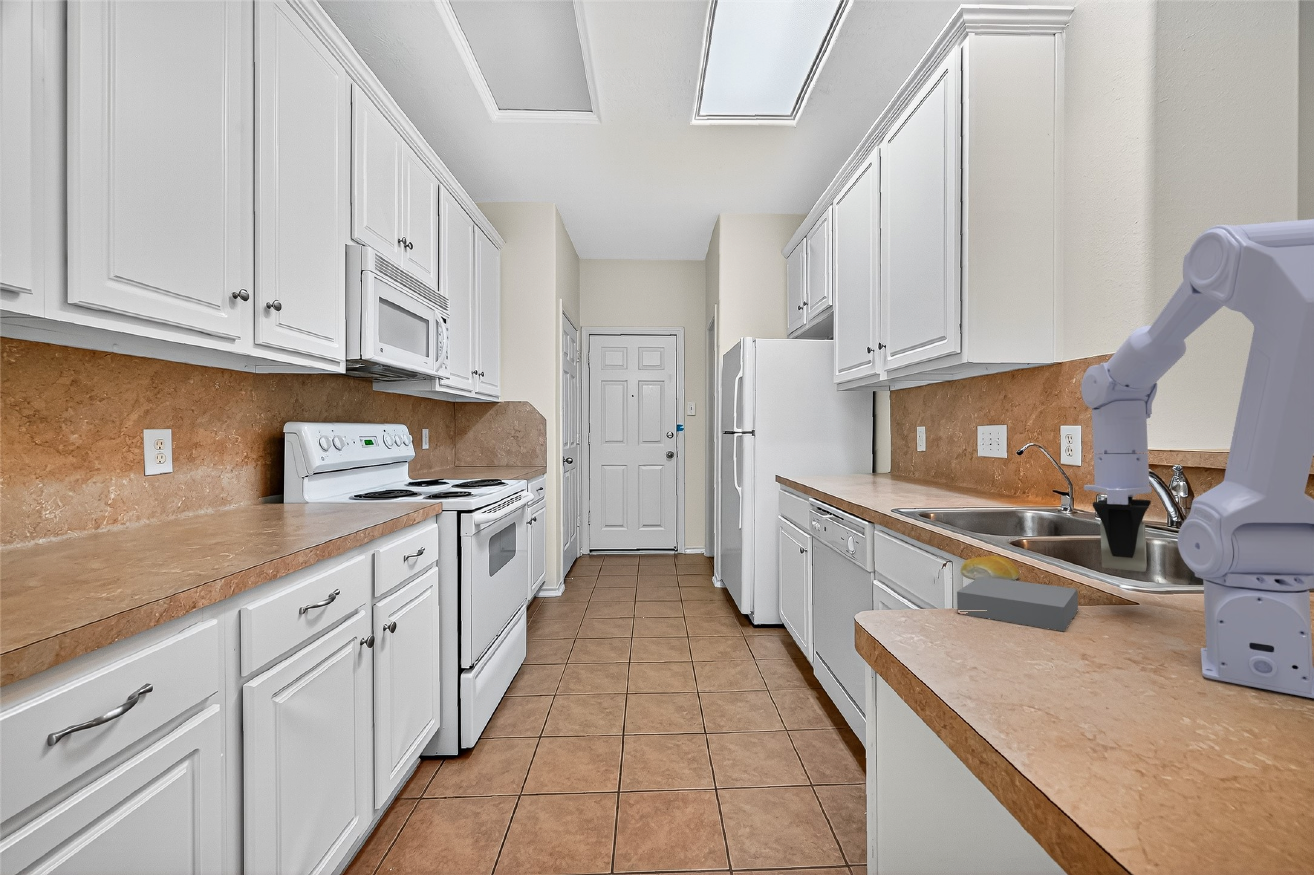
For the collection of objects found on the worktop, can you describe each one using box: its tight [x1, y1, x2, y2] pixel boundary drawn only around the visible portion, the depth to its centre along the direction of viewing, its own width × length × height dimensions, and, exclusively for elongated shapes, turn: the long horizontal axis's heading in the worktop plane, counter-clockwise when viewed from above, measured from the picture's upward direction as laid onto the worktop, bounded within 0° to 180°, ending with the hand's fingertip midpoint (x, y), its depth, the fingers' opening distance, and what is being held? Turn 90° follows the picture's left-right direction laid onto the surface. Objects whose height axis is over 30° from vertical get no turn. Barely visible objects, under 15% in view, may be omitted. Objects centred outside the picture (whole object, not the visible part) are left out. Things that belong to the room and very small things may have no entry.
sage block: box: [1099, 521, 1148, 573], centre depth 75 cm, size 4×4×6 cm
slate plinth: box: [956, 577, 1079, 632], centre depth 77 cm, size 12×12×3 cm
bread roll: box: [960, 555, 1020, 581], centre depth 98 cm, size 8×9×4 cm
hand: (1124, 554), depth 75 cm, fingers closed on sage block, 4 cm apart
